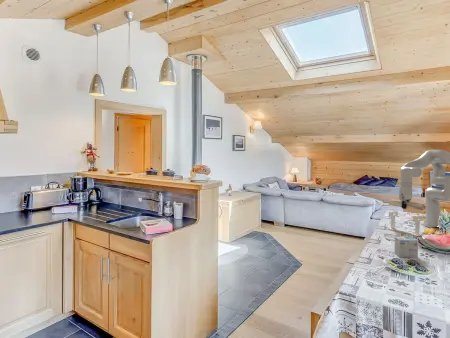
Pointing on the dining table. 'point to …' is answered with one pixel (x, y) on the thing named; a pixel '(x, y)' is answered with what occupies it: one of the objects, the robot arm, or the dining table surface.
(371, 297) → the dining table surface
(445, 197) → the robot arm
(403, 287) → the dining table surface
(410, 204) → the rail
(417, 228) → the rack
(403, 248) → the light bulb box
